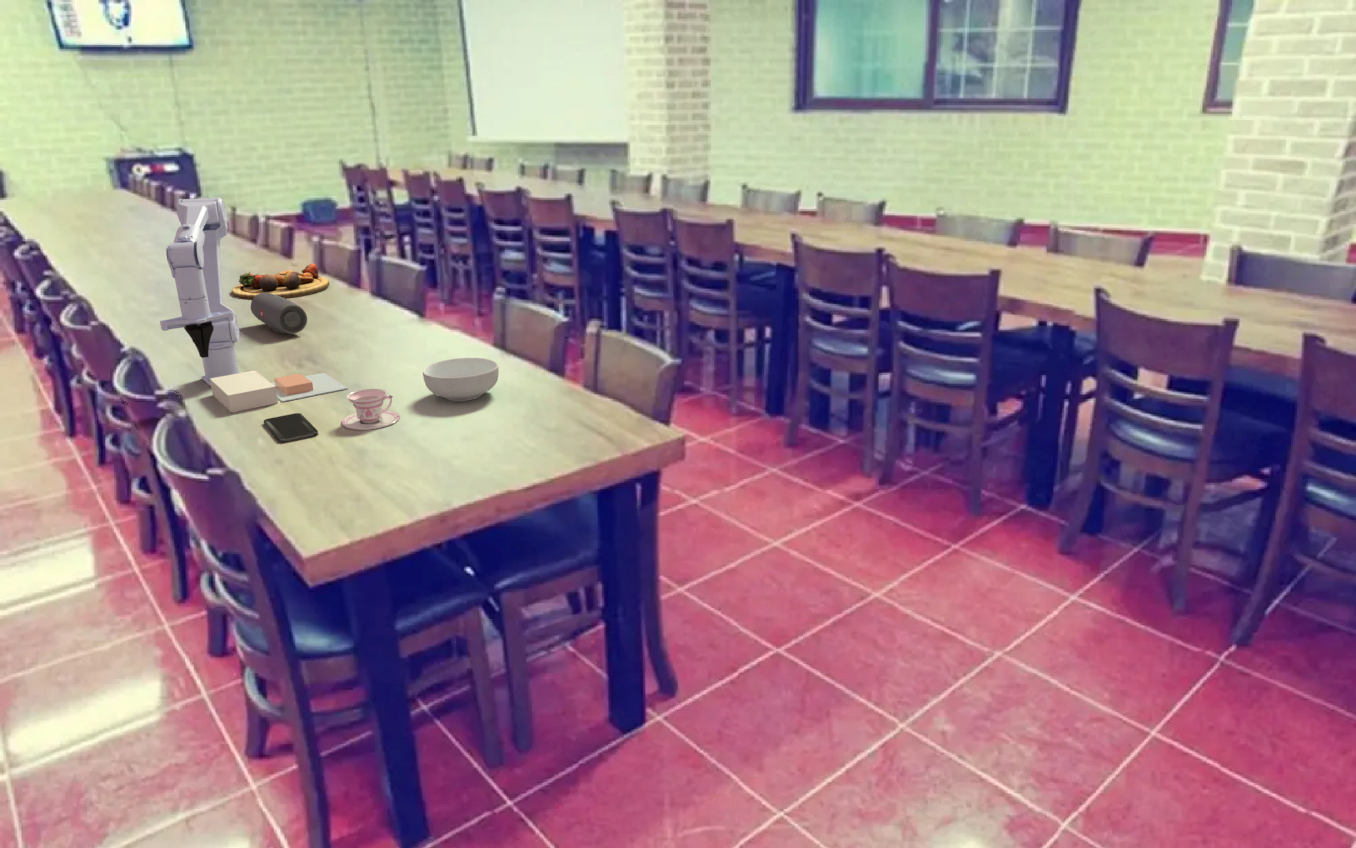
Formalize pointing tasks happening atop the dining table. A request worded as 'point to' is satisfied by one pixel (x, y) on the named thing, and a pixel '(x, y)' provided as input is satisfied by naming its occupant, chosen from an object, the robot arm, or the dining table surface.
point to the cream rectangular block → (243, 391)
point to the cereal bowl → (461, 378)
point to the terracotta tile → (293, 384)
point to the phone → (290, 427)
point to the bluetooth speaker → (279, 313)
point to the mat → (320, 386)
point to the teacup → (369, 410)
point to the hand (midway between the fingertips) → (204, 356)
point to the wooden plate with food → (281, 283)
